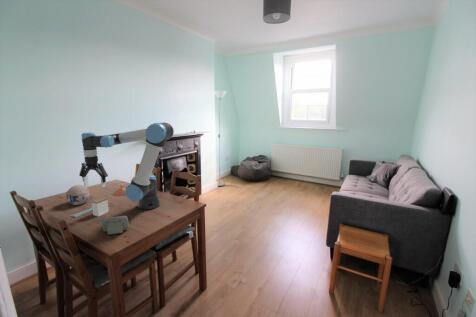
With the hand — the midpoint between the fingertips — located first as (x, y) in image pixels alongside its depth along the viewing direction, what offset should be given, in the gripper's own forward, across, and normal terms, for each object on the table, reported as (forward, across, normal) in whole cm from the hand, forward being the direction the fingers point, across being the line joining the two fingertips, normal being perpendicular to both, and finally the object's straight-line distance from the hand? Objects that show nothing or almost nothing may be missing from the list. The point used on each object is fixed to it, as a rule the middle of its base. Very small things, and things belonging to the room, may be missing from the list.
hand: (95, 186), depth 159 cm
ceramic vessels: (+19, +2, -39) cm, 44 cm away
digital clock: (+19, -31, +22) cm, 42 cm away
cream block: (+18, -4, +3) cm, 19 cm away
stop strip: (+18, +7, +5) cm, 20 cm away
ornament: (+18, +24, -9) cm, 31 cm away
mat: (+18, +13, +4) cm, 23 cm away
